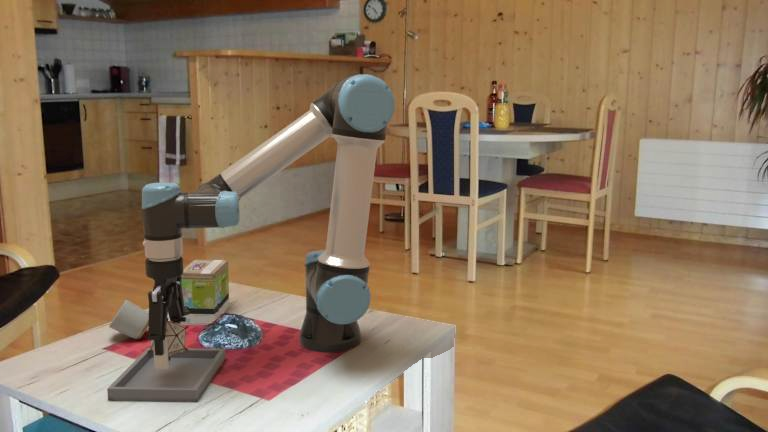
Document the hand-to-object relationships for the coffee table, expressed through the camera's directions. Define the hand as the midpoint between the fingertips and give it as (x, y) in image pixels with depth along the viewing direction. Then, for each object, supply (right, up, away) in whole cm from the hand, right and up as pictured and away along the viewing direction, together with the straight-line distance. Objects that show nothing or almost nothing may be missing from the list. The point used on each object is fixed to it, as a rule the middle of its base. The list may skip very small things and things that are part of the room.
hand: (169, 359), depth 148 cm
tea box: (-3, +3, +40) cm, 40 cm away
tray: (0, -4, +1) cm, 4 cm away
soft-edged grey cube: (-17, 0, +26) cm, 31 cm away
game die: (0, -1, 0) cm, 1 cm away
